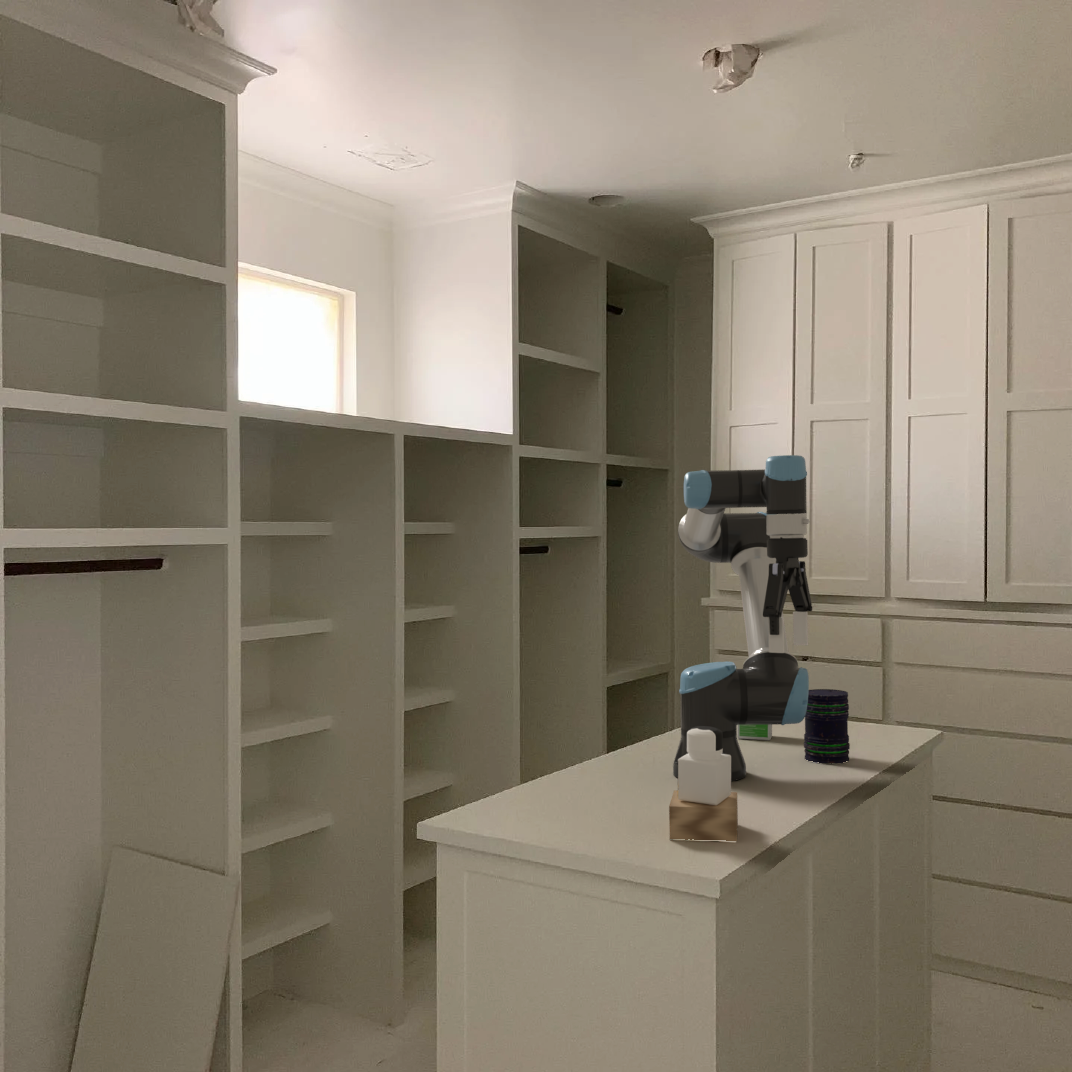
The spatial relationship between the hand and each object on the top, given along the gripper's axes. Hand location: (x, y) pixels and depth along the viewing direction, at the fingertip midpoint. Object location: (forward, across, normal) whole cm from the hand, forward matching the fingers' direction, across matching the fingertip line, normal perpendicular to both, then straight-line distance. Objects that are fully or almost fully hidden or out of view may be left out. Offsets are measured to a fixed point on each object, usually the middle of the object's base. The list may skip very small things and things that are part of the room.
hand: (789, 648), depth 204 cm
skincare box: (+29, +55, +28) cm, 68 cm away
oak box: (+29, -28, +6) cm, 41 cm away
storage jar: (+29, +38, +5) cm, 48 cm away
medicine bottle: (+23, -28, +6) cm, 37 cm away
